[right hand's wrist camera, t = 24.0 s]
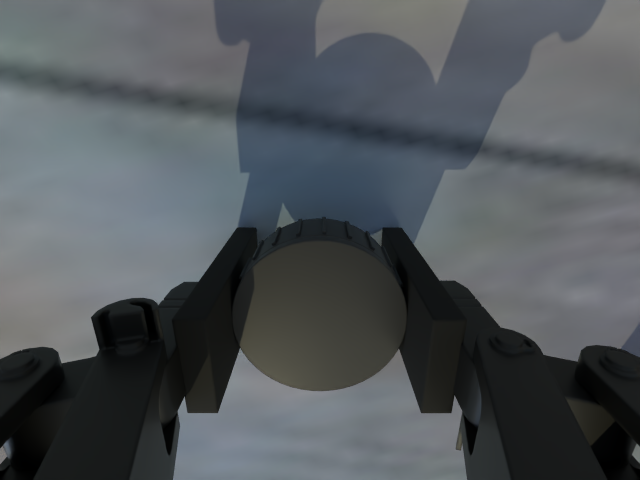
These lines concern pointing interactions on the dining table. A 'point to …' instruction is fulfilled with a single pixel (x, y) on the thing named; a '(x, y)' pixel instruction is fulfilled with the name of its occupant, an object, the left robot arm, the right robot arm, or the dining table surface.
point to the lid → (319, 306)
